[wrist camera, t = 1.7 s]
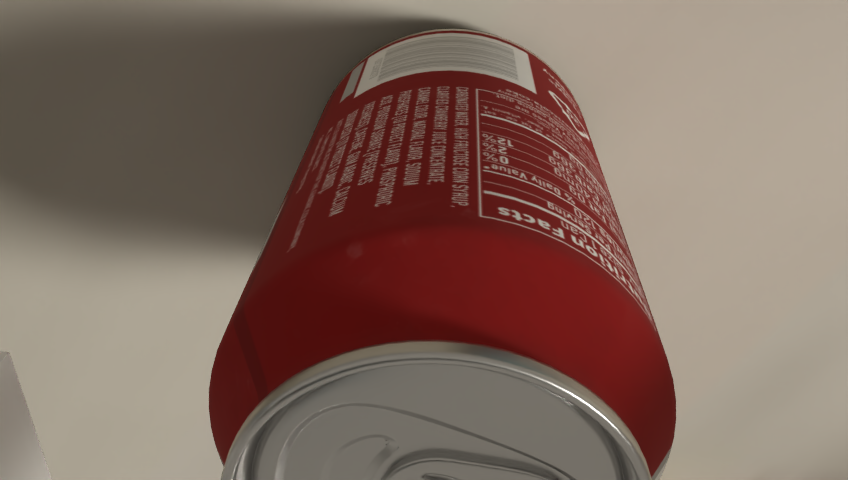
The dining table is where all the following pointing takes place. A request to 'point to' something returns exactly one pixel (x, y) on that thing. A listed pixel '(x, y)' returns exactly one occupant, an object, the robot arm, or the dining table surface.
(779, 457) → the dining table surface
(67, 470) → the dining table surface
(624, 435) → the soda can
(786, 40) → the dining table surface
